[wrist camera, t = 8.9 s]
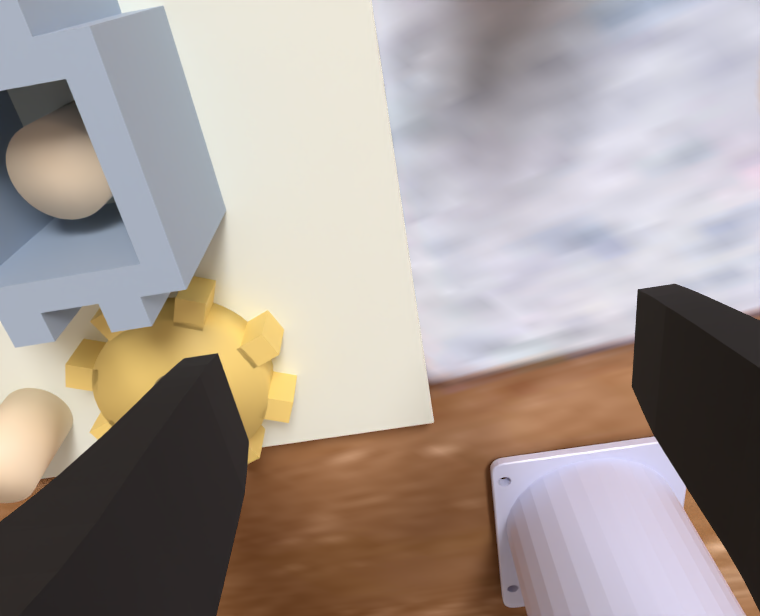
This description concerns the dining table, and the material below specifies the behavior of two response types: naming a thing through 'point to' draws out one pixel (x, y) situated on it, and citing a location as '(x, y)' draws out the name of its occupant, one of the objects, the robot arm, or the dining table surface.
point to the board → (239, 245)
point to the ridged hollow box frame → (104, 170)
